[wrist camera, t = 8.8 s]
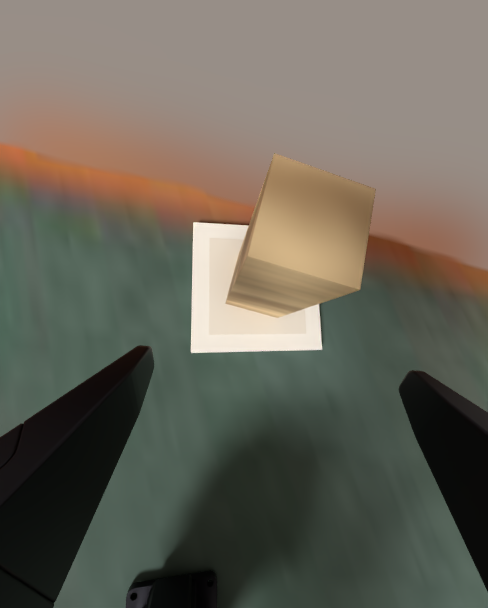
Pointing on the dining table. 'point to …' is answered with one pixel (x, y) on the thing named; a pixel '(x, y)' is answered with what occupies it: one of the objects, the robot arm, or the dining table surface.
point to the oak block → (302, 240)
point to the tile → (230, 319)
